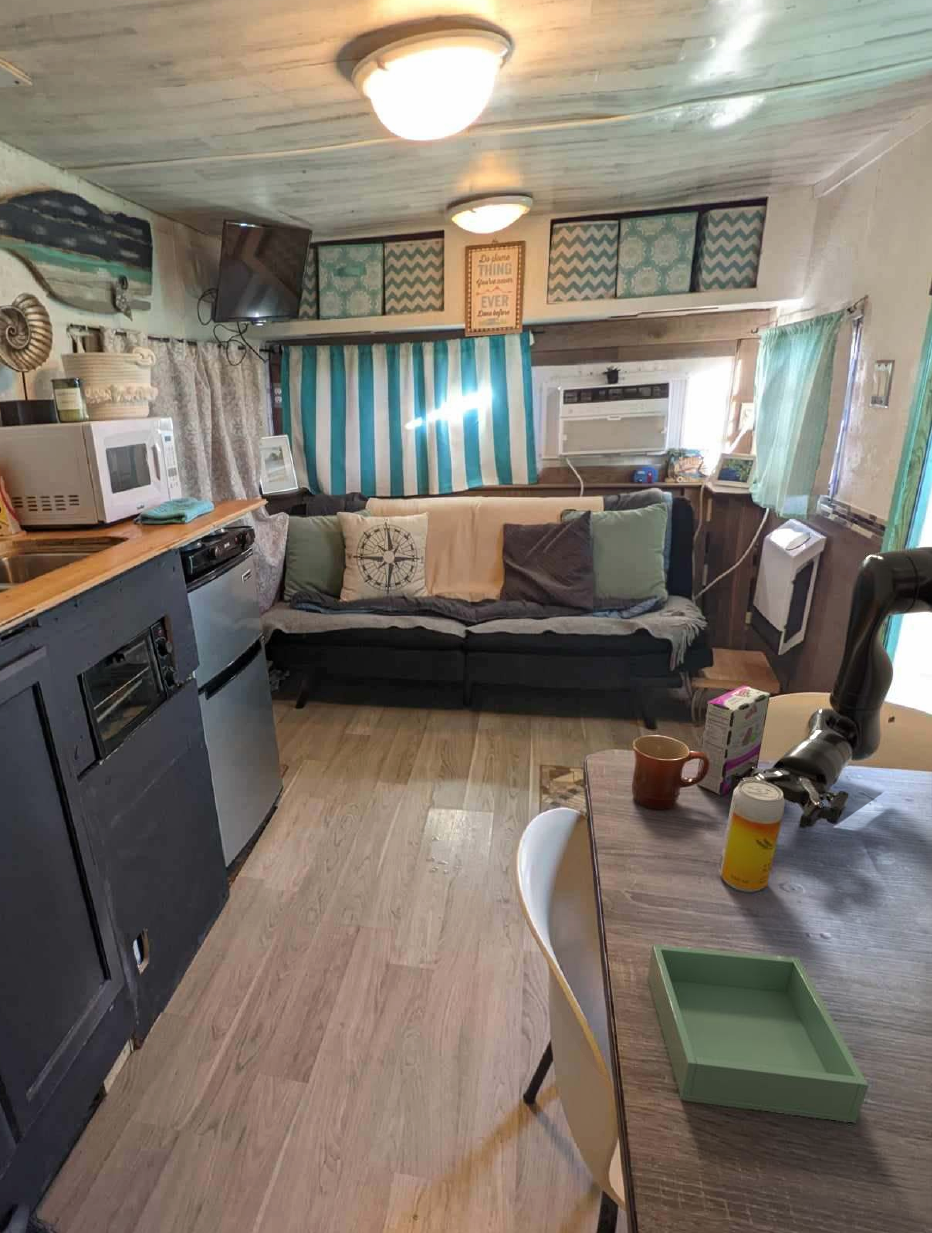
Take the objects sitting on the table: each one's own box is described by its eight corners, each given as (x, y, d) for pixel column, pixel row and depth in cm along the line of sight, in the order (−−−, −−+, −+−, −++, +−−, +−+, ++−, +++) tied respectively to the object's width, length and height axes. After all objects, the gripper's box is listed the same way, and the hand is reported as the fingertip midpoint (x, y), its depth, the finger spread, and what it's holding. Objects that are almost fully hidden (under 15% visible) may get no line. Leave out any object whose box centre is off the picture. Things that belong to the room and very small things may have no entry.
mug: (630, 812, 114) (636, 758, 111) (623, 784, 122) (629, 733, 118) (708, 818, 112) (718, 763, 108) (696, 790, 120) (704, 738, 116)
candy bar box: (729, 765, 127) (744, 684, 121) (756, 776, 123) (773, 693, 117) (693, 784, 121) (706, 700, 115) (720, 796, 117) (735, 710, 111)
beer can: (770, 898, 94) (791, 805, 88) (720, 889, 96) (738, 797, 91) (762, 871, 99) (782, 781, 94) (715, 863, 101) (732, 775, 96)
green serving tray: (789, 992, 79) (798, 957, 77) (856, 1124, 65) (869, 1085, 63) (647, 978, 82) (652, 943, 80) (680, 1100, 68) (688, 1062, 66)
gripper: (763, 733, 111) (721, 769, 102) (868, 763, 101) (832, 807, 91) (755, 773, 114) (713, 812, 104) (856, 807, 104) (821, 853, 94)
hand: (769, 810), depth 98 cm, fingers open, 8 cm apart
